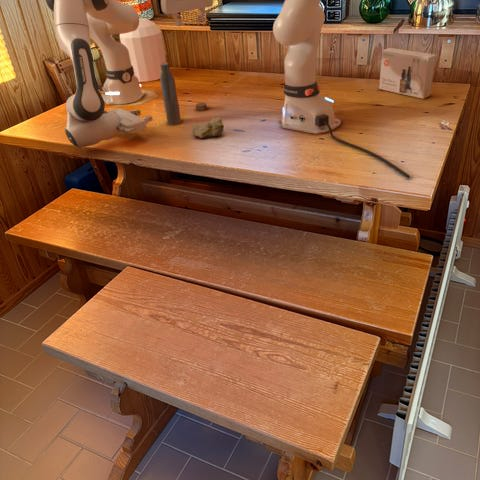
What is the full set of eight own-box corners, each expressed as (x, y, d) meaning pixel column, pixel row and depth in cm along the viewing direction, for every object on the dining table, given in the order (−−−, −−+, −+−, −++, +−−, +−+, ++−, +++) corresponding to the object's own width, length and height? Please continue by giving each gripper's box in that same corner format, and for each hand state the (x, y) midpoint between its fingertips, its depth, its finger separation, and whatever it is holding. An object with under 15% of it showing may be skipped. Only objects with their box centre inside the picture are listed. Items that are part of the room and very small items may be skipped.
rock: (192, 135, 173) (196, 140, 164) (189, 118, 170) (194, 122, 161) (220, 130, 175) (226, 135, 166) (218, 113, 172) (223, 117, 163)
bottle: (172, 119, 186) (163, 61, 174) (184, 120, 184) (174, 62, 171) (164, 123, 182) (154, 65, 170) (175, 125, 180) (166, 66, 167)
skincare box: (377, 89, 194) (381, 50, 185) (385, 86, 197) (389, 47, 188) (423, 99, 180) (429, 56, 171) (430, 95, 183) (437, 53, 174)
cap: (194, 110, 193) (193, 105, 192) (201, 106, 196) (200, 101, 195) (202, 111, 191) (201, 106, 190) (209, 108, 193) (208, 103, 192)
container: (160, 81, 233) (149, 21, 217) (121, 82, 238) (108, 23, 222) (174, 69, 249) (165, 13, 233) (138, 70, 254) (126, 15, 238)
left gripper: (122, 124, 159) (157, 113, 166) (98, 110, 173) (131, 100, 180) (126, 141, 163) (160, 129, 169) (103, 126, 177) (135, 116, 183)
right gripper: (205, -23, 173) (209, 18, 181) (156, -15, 165) (162, 27, 172) (213, -22, 169) (218, 19, 177) (163, -14, 160) (170, 29, 168)
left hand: (145, 114), depth 174 cm, fingers open, 8 cm apart
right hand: (190, 23), depth 174 cm, fingers open, 8 cm apart
